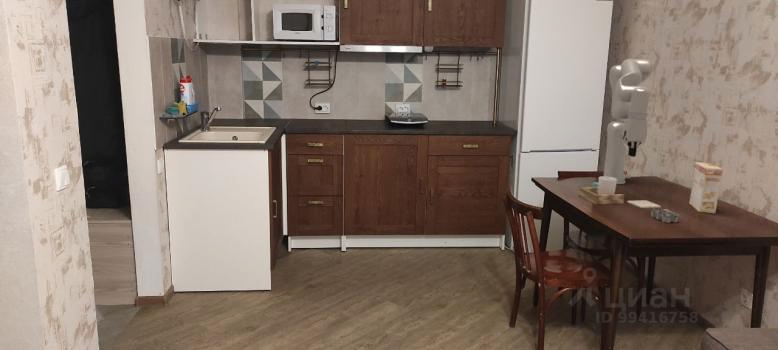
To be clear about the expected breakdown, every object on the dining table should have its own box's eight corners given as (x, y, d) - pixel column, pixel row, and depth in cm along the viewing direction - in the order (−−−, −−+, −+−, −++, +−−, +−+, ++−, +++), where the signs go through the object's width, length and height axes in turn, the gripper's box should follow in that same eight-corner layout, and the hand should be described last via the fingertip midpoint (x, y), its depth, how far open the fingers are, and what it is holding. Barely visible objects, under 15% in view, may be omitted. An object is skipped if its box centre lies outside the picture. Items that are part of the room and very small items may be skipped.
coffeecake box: (716, 213, 257) (723, 169, 253) (698, 212, 258) (705, 168, 254) (705, 204, 271) (712, 162, 267) (688, 203, 272) (695, 161, 268)
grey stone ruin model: (647, 216, 249) (649, 206, 249) (663, 215, 251) (665, 206, 250) (664, 223, 239) (665, 213, 238) (680, 223, 241) (682, 213, 240)
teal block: (598, 192, 287) (599, 181, 286) (606, 194, 283) (607, 184, 282) (590, 192, 285) (592, 182, 284) (599, 195, 281) (600, 185, 280)
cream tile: (646, 201, 272) (646, 200, 272) (660, 207, 263) (660, 206, 263) (626, 202, 270) (627, 200, 270) (641, 208, 260) (641, 206, 260)
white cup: (612, 198, 276) (615, 177, 274) (615, 202, 268) (618, 181, 266) (595, 196, 277) (597, 175, 275) (597, 200, 270) (600, 179, 268)
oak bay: (604, 195, 281) (605, 187, 280) (623, 203, 267) (624, 194, 266) (578, 196, 277) (579, 187, 276) (596, 204, 264) (597, 195, 263)
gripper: (646, 114, 272) (640, 153, 277) (617, 114, 269) (612, 154, 274) (657, 117, 265) (651, 157, 270) (627, 117, 262) (622, 158, 267)
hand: (631, 155), depth 272 cm, fingers closed
